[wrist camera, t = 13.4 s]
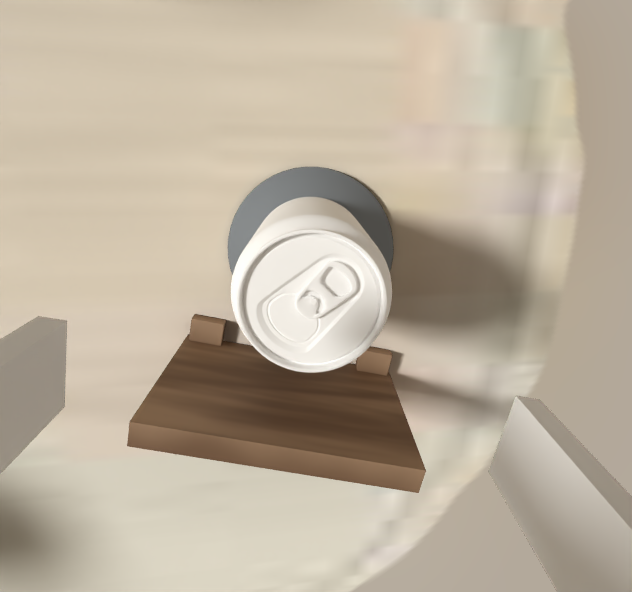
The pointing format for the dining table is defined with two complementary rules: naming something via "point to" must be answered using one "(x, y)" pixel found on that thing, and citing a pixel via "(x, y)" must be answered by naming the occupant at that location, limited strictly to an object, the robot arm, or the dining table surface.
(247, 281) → the beverage can
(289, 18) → the dining table surface
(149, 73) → the dining table surface
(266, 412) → the screen
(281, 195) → the pad
